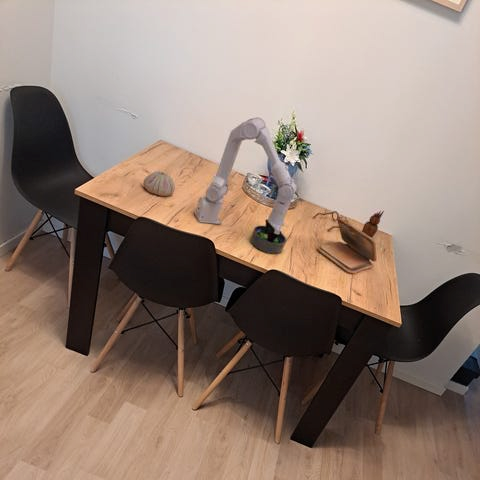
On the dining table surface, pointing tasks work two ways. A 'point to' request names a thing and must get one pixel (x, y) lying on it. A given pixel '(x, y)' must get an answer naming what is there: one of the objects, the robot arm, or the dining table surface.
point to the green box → (266, 237)
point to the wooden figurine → (372, 224)
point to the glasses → (332, 218)
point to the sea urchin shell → (159, 183)
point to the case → (351, 249)
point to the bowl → (267, 241)
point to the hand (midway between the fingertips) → (267, 241)
